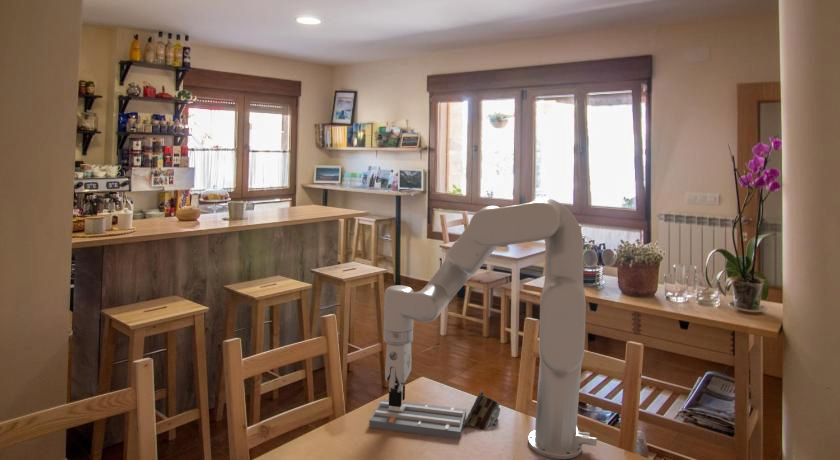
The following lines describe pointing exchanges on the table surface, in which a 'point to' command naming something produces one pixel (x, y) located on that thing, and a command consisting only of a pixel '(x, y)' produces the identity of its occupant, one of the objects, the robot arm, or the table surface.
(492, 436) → the table surface
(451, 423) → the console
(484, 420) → the chocolate cake
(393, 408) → the fader knob
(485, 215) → the robot arm
